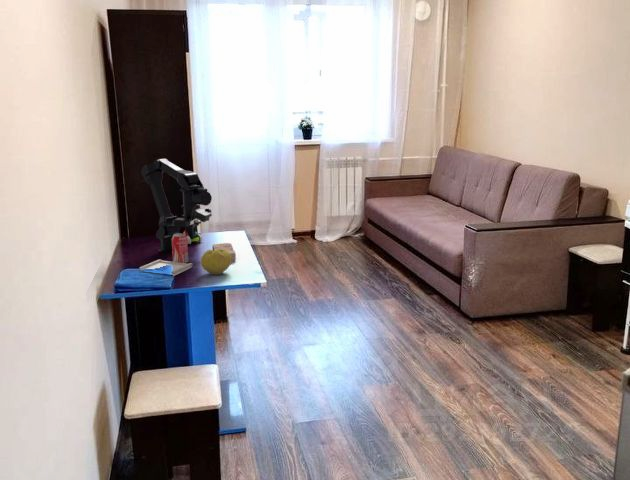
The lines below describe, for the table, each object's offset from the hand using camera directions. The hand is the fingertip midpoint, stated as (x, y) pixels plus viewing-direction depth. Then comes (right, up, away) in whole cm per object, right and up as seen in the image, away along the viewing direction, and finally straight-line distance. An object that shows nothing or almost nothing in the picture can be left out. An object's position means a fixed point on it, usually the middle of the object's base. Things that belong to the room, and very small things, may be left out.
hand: (192, 239), depth 253 cm
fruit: (+14, -14, -21) cm, 29 cm away
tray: (-7, -12, -15) cm, 21 cm away
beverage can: (-3, -10, -6) cm, 12 cm away
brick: (+13, -8, +2) cm, 16 cm away
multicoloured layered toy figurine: (-6, -2, +27) cm, 28 cm away
